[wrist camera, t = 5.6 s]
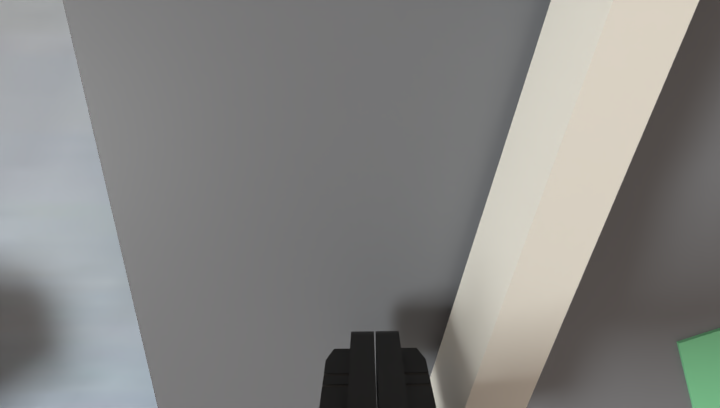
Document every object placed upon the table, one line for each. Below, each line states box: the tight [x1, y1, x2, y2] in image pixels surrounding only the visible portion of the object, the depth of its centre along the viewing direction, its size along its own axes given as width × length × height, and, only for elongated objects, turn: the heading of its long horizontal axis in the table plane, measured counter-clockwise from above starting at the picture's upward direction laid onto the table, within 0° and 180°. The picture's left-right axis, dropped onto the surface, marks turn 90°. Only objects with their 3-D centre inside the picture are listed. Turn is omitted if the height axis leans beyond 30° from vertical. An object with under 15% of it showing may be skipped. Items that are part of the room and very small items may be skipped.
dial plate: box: [63, 0, 720, 408], centre depth 13 cm, size 22×28×2 cm
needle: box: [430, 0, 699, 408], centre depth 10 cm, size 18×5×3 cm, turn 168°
